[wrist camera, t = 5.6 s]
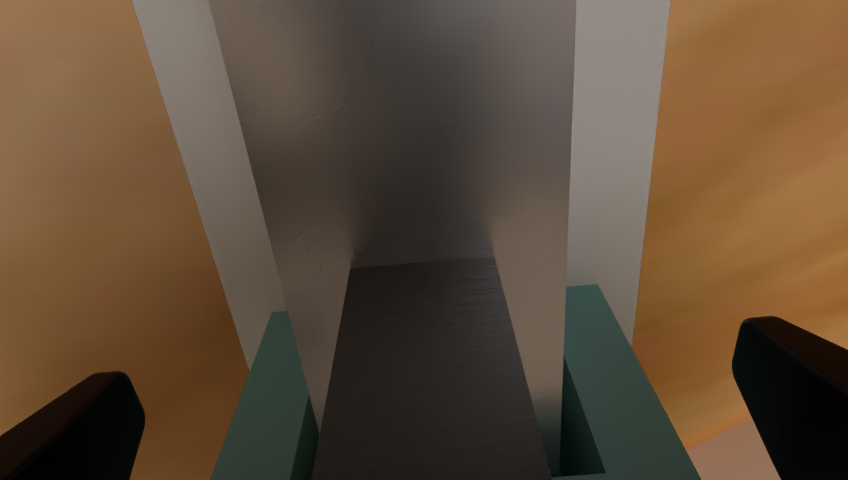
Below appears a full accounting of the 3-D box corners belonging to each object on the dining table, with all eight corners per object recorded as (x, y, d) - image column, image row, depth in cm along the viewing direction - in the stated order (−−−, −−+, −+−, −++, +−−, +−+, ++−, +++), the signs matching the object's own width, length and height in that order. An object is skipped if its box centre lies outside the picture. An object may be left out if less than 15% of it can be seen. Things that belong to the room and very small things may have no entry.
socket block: (589, 404, 16) (678, 640, 10) (303, 428, 16) (250, 670, 11) (597, 284, 14) (711, 499, 8) (271, 312, 14) (188, 539, 9)
